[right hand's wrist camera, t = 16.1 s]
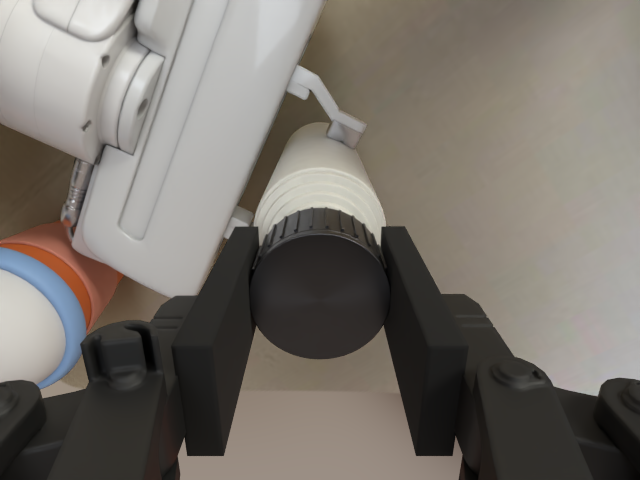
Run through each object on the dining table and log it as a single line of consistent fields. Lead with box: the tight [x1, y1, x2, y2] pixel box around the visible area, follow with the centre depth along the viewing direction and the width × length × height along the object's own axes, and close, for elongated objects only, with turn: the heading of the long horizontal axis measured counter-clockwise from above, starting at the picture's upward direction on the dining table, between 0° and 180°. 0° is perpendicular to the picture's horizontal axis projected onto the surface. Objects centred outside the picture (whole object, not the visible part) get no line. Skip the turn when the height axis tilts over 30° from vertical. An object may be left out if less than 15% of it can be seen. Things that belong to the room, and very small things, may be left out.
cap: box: [249, 207, 391, 359], centre depth 13 cm, size 4×4×2 cm
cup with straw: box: [0, 220, 124, 389], centre depth 25 cm, size 9×9×18 cm
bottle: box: [254, 122, 386, 247], centre depth 22 cm, size 5×5×20 cm
